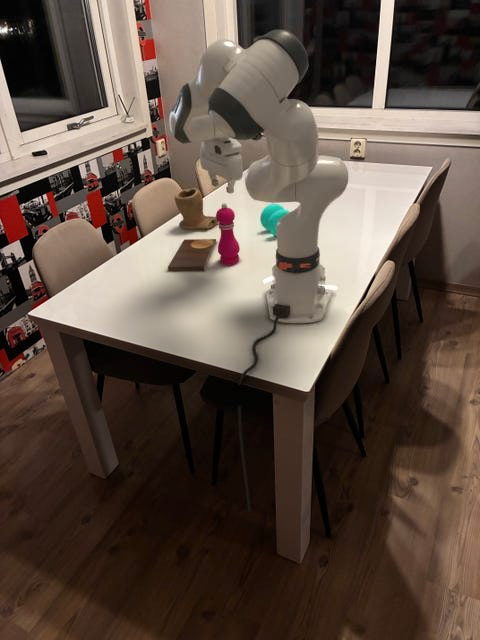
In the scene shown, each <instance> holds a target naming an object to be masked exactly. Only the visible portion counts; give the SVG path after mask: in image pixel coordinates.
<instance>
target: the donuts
mask: <svg viewBox="0 0 480 640" xmlns="http://www.w3.org/2000/svg"><path fill="white" fill-rule="evenodd" d="M289 212H290V210H288V209H285V208H284V207H283V206H282V205H281V204H279V203H270V204H268V205H267V206H265V207H264V208H263V209H262V211H261V213H260V216H259V217H260V219H259V220H260V225H261V226H262V227H263V228H264V229H265V230H268V231H269V232H270V234H271V235H273V236H274V237H277V230H276V227H277V224H278V222H279V220H280V219H281V218H282V217H283V216H284V215H286V214H287V213H289Z"/></svg>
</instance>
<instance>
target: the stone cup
mask: <svg viewBox="0 0 480 640" xmlns="http://www.w3.org/2000/svg"><path fill="white" fill-rule="evenodd" d="M174 202H175V205H176V207H177V209H178V211H179V214H180V215H181V217H182V220H181V221H180V222H179V223H178V226H179V227H180V228H182V229H211V228H214V227H215V226H216V225H218V224H219V222H218V221H217V219H216V216H211V215H210V216H209V215H205V214H204V199H203V194H202V192H201V191H200V189H198V188H196V187H191V188H185V189H181V190H179V191H178V192H177V193H176V194H175V195H174Z"/></svg>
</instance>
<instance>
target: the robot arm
mask: <svg viewBox="0 0 480 640" xmlns="http://www.w3.org/2000/svg"><path fill="white" fill-rule="evenodd" d="M309 63H310V62H309V56H308V53H307V50H306V48H305V46H304V45H303V43H302V42H301V41H300V39H299V38H298V37H297V36H296V35H295V34H293V33H292V32H291V31H289V30H286V29H273V30H271V31H268V32H267V33H265V34H263V35H260V36H259V35H258V36H256V37H253V43H252V44H251V45H250V46H249V47H248V48H243V47H242V46H241V45H240V44H238V43H237V42H236V41H233V40H231V39H218V40H215V41H213V42H212V43H211V44H210V45H208V46H207V47H206V49H205V51H203V54H202V56H201V58H200V61H199V66H198V70H197V73H196V75H195V76H194V77H193V78H192V79H190V80H189V81H188V82H186V83H185V84H184V85H182V87H181V88H180V90H179V93H178V95H177V97H176V100H175V104H174V105H173V106H172V108H171V109H170V114H169V129H170V132H171V134H172V136H173V138H174V139H175V140H176V141H177V142H179V143H180V144H182V145H185V144H190V143H193V142H201V143H200V144H201V145H200V146H199V163H200V166H201V169H202V170H205V171H207V174H208V177H209V179H210V182H211V186H213V187H218V186H219V184H220V183H219V179H218V177H220V178H222V179H224V180H226V183H227V186H226V187H225V189H226V191H225V192H226V193H228V194H230V195H231V194H234V192H235V184H236V182H237V181H241V180H242V178H243V176H244V168H243V166H244V165H243V158H242V155H241V152H242V150H243V147H242V144H241V143H240V142H239V141H249V140H252V141H255V142H257V141H259V140H261V139H262V138H263V136H264V138H265V142H266V149H267V155H266V156H264V157H263V158H260V159H258V160H256V161H253V162H252V163H251V164H250V165H249V167H248V168H247V170H246V173H245V176H244V184H245V189H246V191H247V193H248V195H249V196H250V198H251V199H253V200H254V201H258V202H263V203H270V204H279V203H299V205H298V206H297V207H296V208H294V209H293V210H291V211H289V213H287V214H286V215H284V216H283V217H282V218H281V219H280V220H279V222H278V224H277V227H276V230H277V236H276V247H277V248H276V250H275V264H274V265H273V267H271V272H272V276H270V277H267V278H265V279H263V283H264V284H266V283H268V282H270V281H272V284H270V288H268V289H266V291H265V297H266V303H267V309H268V314H269V318H270V320H272V321H273V328H272V330H271V331H270V332H269V333H268V334H266V335H264V336H261V337H259V338H257V339H256V340H254V342H253V344H252V353H253V356H254V362H253V363H252V364H251V365H250V366H249V367H248V368H247V369H245V370H244V371H243V372H242V374H241V375H240V377H239V379H238V382H237V384H238V386H241V385H242V382H243V381H244V378H245V376H246V375H247V374H248V373H249V372H250V371H252V370H253V369H254V368H255V367H256V366H257V364H258V360H259V356H258V352H257V350H256V349H257V348H256V346H257V344H258V343H259V342H261V341H263V340H265V339H267V338H269V337H270V336H272V335H274V333H275V332H276V329H277V323H284V324H311V323H316V322H319V321H322V320H323V318H324V316H325V313H326V311H327V307H328V305H329V303H330V300H331V297H332V295H333V294H332V290H337V289H338V287H337V286H336V285H326V279H327V278H326V272H325V271H326V267H325V266H324V265H323V264H321V262H320V260H321V259H320V258H321V253H320V248H319V232H320V231H319V230H320V225H321V224H320V223H321V220H322V219H323V218H322V217H323V215H324V213H325V212H326V210H327V209H328V208H329V206H330V205H332V204H333V202H334V201H336V200H337V199H339V198H340V197H341V196H342V195H343V194H344V193H345V191H346V189H347V187H348V183H349V171H348V167H347V165H346V163H345V162H344V161H343V160H342V159H341V158H339V157H335V156H329V155H319V145H320V143H319V141H320V140H319V128H318V124H317V121H316V117H315V115H314V112H313V111H312V109H311V107H310V106H309V105H308V104H307V103H306V102H304V101H302V100H301V99H297V98H289V99H288V96H289V95H290V93H291V92H292V91H293V89H295V87H296V85H298V84H299V83H301V81H302V79H303V78H304V76H305V75H306V73H307V71H308V68H309ZM217 176H218V177H217ZM237 422H238V423H237V424H238V436H239V437H238V438H239V445H240V446H239V447H240V455H241V456H240V457H241V463H242V471H243V478H244V486H245V495H246V503H247V511H248V512H251V511H252V510H251V499H250V490H249V482H248V476H247V475H248V474H247V467H246V458H245V449H244V441H243V439H244V438H243V428H242V427H243V426H242V405H237Z"/></svg>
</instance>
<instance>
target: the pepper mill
mask: <svg viewBox="0 0 480 640" xmlns="http://www.w3.org/2000/svg"><path fill="white" fill-rule="evenodd" d="M235 214H236V213H235V211H234V210H233V209H232V208H230V207H228V204H227V203H226V202H223V203H222V204H221V208H219V209H218V210H217V211H216V212H215V217H216V219H217V221H218V223H217V225H218V229H219V231H220V238H219V241H218V243H217V252H218V253H217V254H219V255H220V257H219V259H220V263H221V265H224V266H233V265H236V264H238V263H239V262H240V255H239V253H240V250H241V247H240V244H239V242H238V240H237V238H236V236H235V234H234V228H235V222H234V220H235V218H236V215H235Z"/></svg>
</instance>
